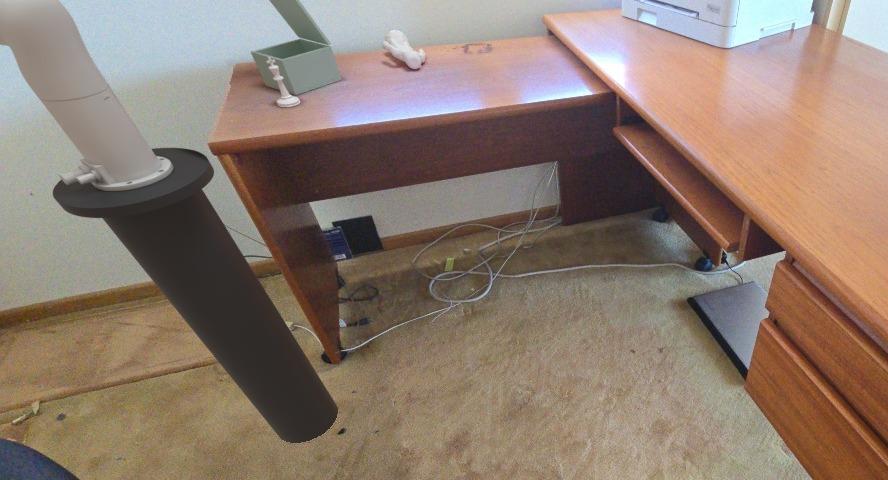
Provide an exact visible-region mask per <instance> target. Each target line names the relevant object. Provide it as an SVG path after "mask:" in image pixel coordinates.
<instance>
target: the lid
mask: <svg viewBox="0 0 888 480" xmlns="http://www.w3.org/2000/svg"><path fill="white" fill-rule="evenodd" d="M268 1H269V2H270V3H271V5H272V6H273V7H274V8H275V9H276V11H277V12H278V14H279V15H280V16H281V17H282V19H283V20H284V21H285V22H286V24H287V25H288V26H289V27H290V29H291V30H292V31H293V33H295V35H296V36H297V38H298V39H303V40H307V41H311V42H315V43H319V44H322V45H326V46H330V45H332V43H331V41H330V39H329V38H328V37H327V36H326V35H325V33H324V32H323V31H322V29H321V28H320V26H319V25H318V23H317V22H316V21H315V20H314V18H313V17H312V15H311V14H310V13H309V11H308V10H307V9H306V7H305V6H304V5H303V3H302V2H301V1H300V0H268Z"/></svg>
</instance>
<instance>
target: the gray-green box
mask: <svg viewBox="0 0 888 480" xmlns="http://www.w3.org/2000/svg"><path fill="white" fill-rule="evenodd" d="M250 55H251V57H252V58H253V61H254V64H255V65H256V67H257V70H258V71H259V74H260V77H261V78H262V81H263V83H264V85H265V87H269V88H272V89H275V90H278V91H280V88H279V85H278V82H277V80H273V77H275V76H274V74H273V73H272V72H271V71H270V69H269V66H271V63H267V62H266V61H269V59H268V57H271V60H275V62H274V63H273V64H274V65H277V66H278V67H279V75H280V76H282V77H283V79H282V82H283V84H284V86H285V88H286V89H287V91H288V93H289V94H290V95H293V96H297V95H300V94H301V95H302V94H304V93H306V92H310V91H314V90H316V89H318V88H321V87H325V86H327V85H329V84H330V85H331V84H334V83H336V82H339V81H342V80H343V77H342V74H341V71H340V69H339V66H338V63H337V60H336V57H335V54H334V51H333V48H332V46H330V45H326V44H322V43H318V42H314V41H310V40H306V39H302V38H298V39H294V40H290V41H286V42H283V43H279V44H278V43H277V44H274V45H271V46H267V47H264V48H259V49H256V50H251V51H250Z"/></svg>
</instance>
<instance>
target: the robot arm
mask: <svg viewBox="0 0 888 480" xmlns="http://www.w3.org/2000/svg"><path fill="white" fill-rule="evenodd" d="M0 46H6V47H9V49H10V50H11V52H12V54H13V57H14V59H15V61H16V64H17V67H18V69H19V71H20V73H21V75H22V77H23V79H24V80H25V82H26V83H27V85H28V87H29V88H30V89H31V91H32V92H33V93H34V94H35V95H36V97H37V98H38V99H39V101H40V102H41V104H43V106H44V107H45V108H46V110H47V111H48V112H49V114H50V115H51V116H52V117H53V119H54V120H55V121H56V123H57V124H58V125H59V127H60V128H61V129H62V131H63V132H64V134H65V135H66V136H67V137H68V138H69V140H70V141H71V142H72V144H73V145H74V146H75V148H76V149H77V150H78V152H79V153H80V154H81V155H82V156H83V158H80V159H79V162H81V165H78V166H77V168H76V169H74V170H69V171H66V172H64V173H60V174H58V177H59V178H60V180H61V179H62V181H63V182H64V183H66V184H67V185H70V184H73V183H75V182H79V183H80V184H82V185H83V184H85V183H88V182H91V183H92V185H93V186H94V187H95V188H97V189H99V190H104V191H126V190H132V189H137V188H141V187H145V186H148V185H151V184H154V183H156V182H158V181H160V180H162V179H164V178H166V177H167V176H168V175H170V174H171V172H172V171H173V168H174V167H173V165H172V163H171V162H170V160H168V159H167V158H164V157H160V156H156V155H155V154H154V152H153V151H152V149H153V148H151V146H150V145H149V143H148V142H147V140H146V139H145V137H144V135H143V134H142V133H141V131H140V130H139V128H138V126H137V125H136V123H135V122H134V121H133V119H132V118H131V116H130V115H129V113H128V111H127V110H126V108H125V107H124V105H123V104H122V103H121V100H119V99H120V98H118V96H117V95H116V93H115V92H114V89H112V87H111V85H110V84H109V83H108V81H107V79H106V77H105V76H103V74H102V72H101V70H100V69H99V67H98V65H97V64H96V63H95V61H94V59H93V57H92V55H91V54H90V52H89V50H88V49H87V47H86V45H85V42H84V40H83V37H82V35H81V33H80V31H79V28H78V26H77V24H76V22H75V20H74V18H73V16H72V15H71V13H70V12H69V10H68V9H67V7H66V6H65V5H64V4H63V3H62V2H61V1H60V0H0Z"/></svg>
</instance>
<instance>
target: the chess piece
mask: <svg viewBox="0 0 888 480" xmlns="http://www.w3.org/2000/svg"><path fill="white" fill-rule="evenodd" d="M268 59H269V61H266V62H267V63H271V66H269V69H270V71H271V72H272V73H273V74H274V76H275V77H273V80H277V82H278V85H279V88H280V90H279V91H280V97H279V98H278V99H277V100H276V105H277V106H278V107H281V108H291V107H295V106H298V105H300V104H301V100H300V98H299V97H298V96H295V95H293V94H291V93H288V91H287V89H286V88H285V86H284V84H283V82H282V79H283V77H282V76H280V75H279V67H278V66H277V65H274V64H273V63H274V62H275V60H271V57H268Z"/></svg>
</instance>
